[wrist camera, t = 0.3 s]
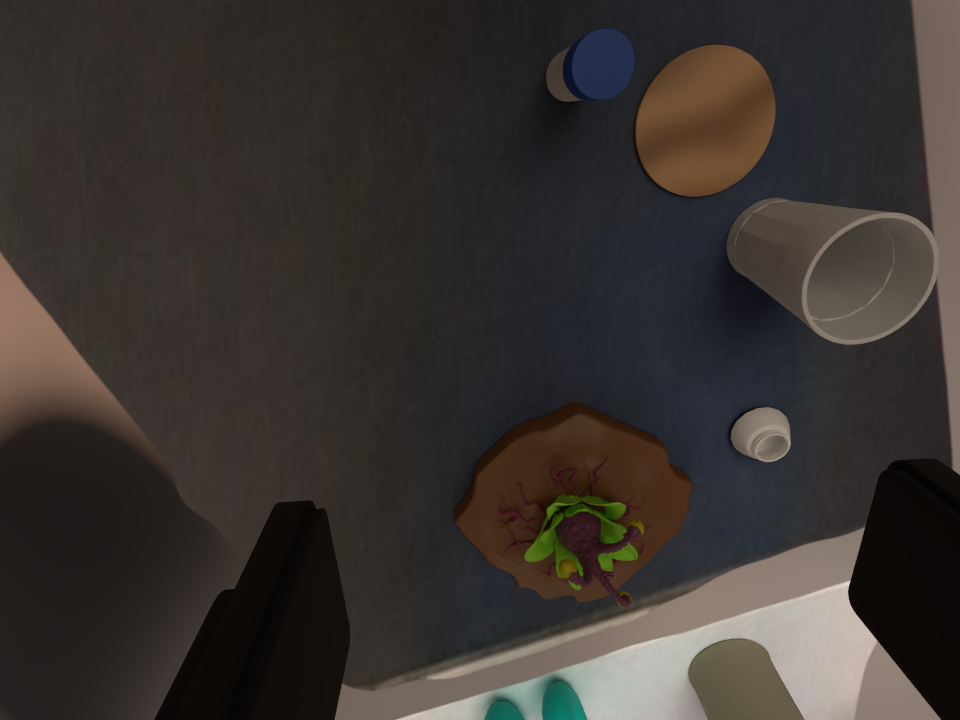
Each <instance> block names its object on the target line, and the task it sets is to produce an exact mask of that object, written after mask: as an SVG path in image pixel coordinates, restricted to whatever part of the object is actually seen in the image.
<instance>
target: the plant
mask: <svg viewBox="0 0 960 720" xmlns="http://www.w3.org/2000/svg"><path fill="white" fill-rule="evenodd" d="M692 487H693V484H692V482H691V480H690V479H689V477H688V475H687V474H686V472H685V471H684V470H682V469H679V468H676V467H674V466H672V465H671V464H670V463H669V457H668V453H667V450H666V449H665V447H664V445H663V444H662V442H661V441H660V440H659V439H658V438H657V437H655V436H654V435H652V434H650V433H647V432H644V431H641V430H639V429H637V428H635V427H633V426H631V425H628V424H626V423H623V422H621V421H618V420H616V419H613V418H611V417H609V416H607V415H605V414H603V413H601V412H599V411H597V410H595V409H592V408H590V407H588V406H585V405H583V404H580V403H570V404H568V405H566V406H564V407H562V408H560V409H558V410H557V411H555V412H553V413H551V414H549V415H546V416H544V417H541V418H537V419H531V420H528V421H525V422H523V423H521V424H520V425H518V426H516V427H515V428H513V429H511V430H510V431H509V432H507V433H506V434H505V435H504V436H503V437H502V438H501V439H500V440H499V441H498V442H497V443H496V444H495V445H494V446H493V447H492V448H491V449H490V450H489V451H488V452H486V453H485V454H484V455H483V456H482V457H481V458H480V459H479V461H478V462H477V464H476V467H475V475H474V481H473V484H472V486H471V488H470V489H469V491H468V492H467V494H466V495H465V496H464V498H463V499H462V500H461V501H460V503H459V504H458V505H457V506H456V507H455V508H454V511H455V523H456V524H457V526H458V527H459V528H460V530H461V531H462V533H463V534H464V536H465V537H466V538H467V539H468V540H469V541H470V542H471V543H472V544H474V545H475V546H476V547H477V548H478V549H479V550H480V551H481V552H482V553H483V554H484V556H485V557H486V559H487V560H488V561H489V562H490V563H491V564H493V565H494V566H496V567H497V568H499V569H501V570H503V571H505V572H508V573H510V574H512V575H513V576H514V577H515V579H516V582H517V586H518V587H519V588H530V589H533V590H535V591H536V592H537V593H538V594H539V595H540V596H541V597H542V598H544V599H552V598H556V597H560V596H567V595H572V596H574V597H575V599H576V600H577V601H578V602H587V601H592V600H596V599H600V598H603V597H605V596H608V595H610V596H613V598H615V599H616V601H617V603H618V604H619V605H620V606H621V607H628V606H629V605H630V604H631V596H630V595H629V594H628V593H627V592H626V591H620V592H617V591H616V590H617V589H618V588H619V587H620V586H621V585H623V584H624V583H625V582H626V581H627V580H628V579H629V578H630V577H631V576H632V575H633V574H634V573H636V572H637V571H638V570H639V569H640V568H642V567H643V566H644V565H645V564H646V563H647V562H648V561H649V560H650V559H651V558H652V557H653V556H654V555H655V554H656V553H657V552H658V550H659V549H660V548H661V547H662V546H663V545H664V544H665V543H666V542H667V541H668V540H670V539H671V538H673V537H674V536H676V535H677V534H678V532H679V530H680V526H681V524H682V522H683V520H684V519H685V517H686V515H687V513H688V511H689V497H690V493H691V490H692Z"/></svg>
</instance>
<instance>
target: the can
mask: <svg viewBox="0 0 960 720" xmlns="http://www.w3.org/2000/svg"><path fill="white" fill-rule="evenodd" d="M689 679H690V682H691V684H692V685H693V687H694V688H695V690H696V693H697V695H698V697H699V699H700V702H701V704H702V706H703V709H704V711H705V713H706V716H707V718H708V720H804V718H803V716H802V714H801V713H800V711H799V709H798V707H797V706H796V704H795V702H794V700H793V699H792V697H791V695H790V694H789V692H788V690H787V688H786V687H785V685H784V683H783V681H782V679H781V678H780V676H779V674H778V672H777V671H776V669H775V667H774V665H773V663H772V661H771V659H770V656H769V653H768V652H767V650H766V649H765V648H764V647H763V646H761V645H760V644H758V643H756V642H753V641H750V640H745V639H731V640H726V641H722V642H718V643H716V644H713V645H711V646H709V647H708V648H706V649H704V650H703V651H702V652H700V653H699V654H698V655H697V656H696V658H695V659H694V660H693V662H692V664H691V666H690V669H689Z"/></svg>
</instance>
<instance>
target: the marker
mask: <svg viewBox="0 0 960 720" xmlns="http://www.w3.org/2000/svg"><path fill="white" fill-rule="evenodd" d="M634 68H635V54H634V50H633V47H632V45H631V43H630V41H629V40H628V38H627V37H626V36H625V35H624V34H623V33H621V32H619V31H618V30H615V29H611V28H601V29H597V30H594V31H592V32H590V33H589V34H587V35H585V36H584V37H582V38H580V39H579V40H577V41H576V42H575V43H574V44H573V45H572V46H570V47H569V48H567V49H565V50H564V51H562V52H560V53H559V54H557V55H556V56H555V57H554V58H553V59H552V60H551V62H550V63H549V66H548V68H547V72H546V83H547V86H548V89H549V91H550V92H551V94H552V95H553V96H554V97H555V98H557V99H558V100H561V101H565V102H571V101H581V100H584V101H599V100H607V99H610V98H613V97H615V96H617V95H618V94H620V93H621V92H622V91H623V90H624V89H625V88H626V87H627V85H628V84H629V82H630V80H631V78H632V76H633V73H634Z"/></svg>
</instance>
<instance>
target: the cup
mask: <svg viewBox="0 0 960 720" xmlns="http://www.w3.org/2000/svg"><path fill="white" fill-rule="evenodd" d="M727 255H728V259H729V261H730V263H731V265H732V266H733V268H734V269H735V270H736V271H737V272H738V273H740V274H741V275H743V276H745V277H747V278H748V279H750V280H751V281H752V282H753V283H755V284H756V285H757V286H758V287H760V288H761V289H762V290H764V291H765V292H766V293H767V294H769V295H770V296H771V297H773V298H774V299H775V300H776V301H778V302H779V303H780V304H781V305H783V306H784V307H785V308H787V309H788V310H789V311H790V312H792V313H793V314H794V315H795V316H797V317H798V318H799V319H800V320H801V321H803V322H804V323H805V324H806V325H808V326H809V327H810V328H811V329H812V330H814V331H815V332H816V333H817V334H819V335H820V336H821V337H823V338H825V339H827V340H829V341H832V342H835V343H840V344H862V343H867V342H871V341H874V340H877V339H880V338H882V337H884V336H886V335H888V334H890V333H892V332H894V331H895V330H897V329H898V328H900V327H901V326H903V325H904V324H905V323H906V322H907V321H909V320H910V319H911V318H912V317H913V316H914V315H915V314H916V313H917V312H918V310H919V309H920V308H921V307H922V305H923V304H924V303H925V301H926V300H927V298H928V296H929V294H930V293H931V291H932V288H933V286H934V284H935V281H936V277H937V273H938V268H939V252H938V247H937V243H936V241H935V238H934V236H933V235H932V233H931V232H930V230H929V229H928V228H927V227H926V226H925V225H924V224H923V223H922V222H920V221H919V220H917V219H915V218H913V217H911V216H908V215H905V214H901V213H893V212H883V211H873V210H863V209H854V208H845V207H837V206H829V205H821V204H812V203H804V202H796V201H790V200H786V199H781V198H770V199H765V200H762V201H759V202H757V203H755V204H753V205H751V206H750V207H748V208H747V209H746V210H745V211H743V212H742V213H741V214H740V215H739V217H738V218H737V219H736V221H735V222H734V224H733V225H732V227H731V229H730V232H729V235H728V239H727Z"/></svg>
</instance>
